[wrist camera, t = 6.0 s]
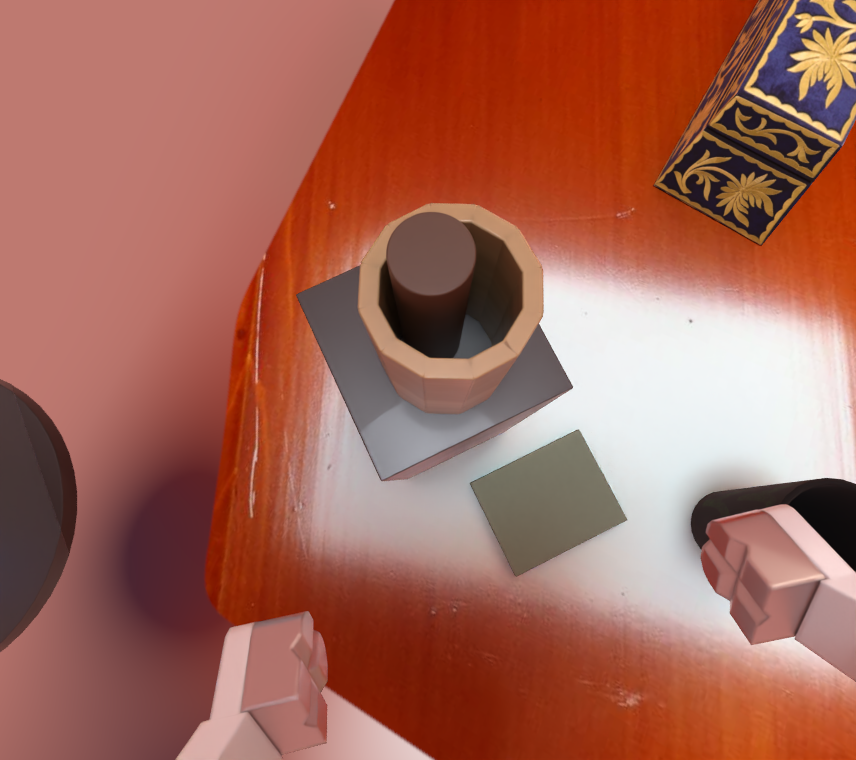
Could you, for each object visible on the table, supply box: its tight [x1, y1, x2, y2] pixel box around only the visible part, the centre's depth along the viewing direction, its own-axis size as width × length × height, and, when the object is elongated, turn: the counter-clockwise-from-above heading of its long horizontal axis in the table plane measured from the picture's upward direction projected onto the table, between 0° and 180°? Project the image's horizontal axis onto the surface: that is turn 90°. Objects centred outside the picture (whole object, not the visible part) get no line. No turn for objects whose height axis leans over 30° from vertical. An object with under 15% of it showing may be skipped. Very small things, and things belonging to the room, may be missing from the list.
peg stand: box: [296, 212, 573, 481], centre depth 29 cm, size 9×9×31 cm
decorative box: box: [654, 0, 856, 246], centre depth 45 cm, size 11×30×9 cm, turn 149°
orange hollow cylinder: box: [358, 203, 543, 414], centre depth 19 cm, size 5×5×8 cm
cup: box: [691, 478, 856, 572], centre depth 36 cm, size 8×8×12 cm
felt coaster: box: [470, 430, 627, 577], centre depth 43 cm, size 10×8×1 cm
